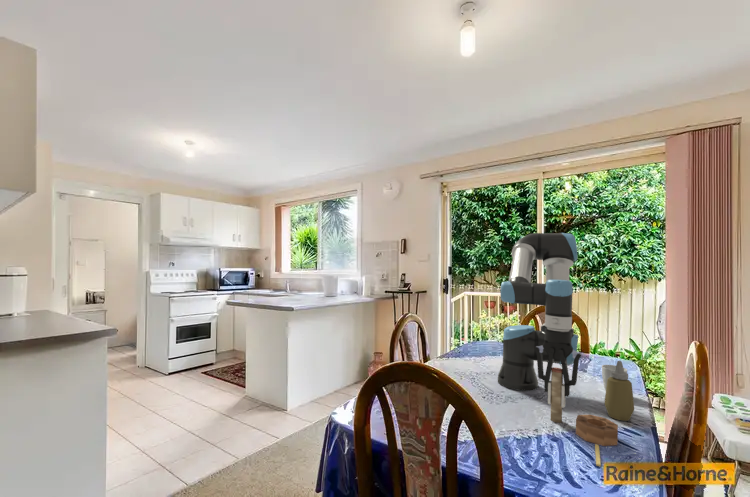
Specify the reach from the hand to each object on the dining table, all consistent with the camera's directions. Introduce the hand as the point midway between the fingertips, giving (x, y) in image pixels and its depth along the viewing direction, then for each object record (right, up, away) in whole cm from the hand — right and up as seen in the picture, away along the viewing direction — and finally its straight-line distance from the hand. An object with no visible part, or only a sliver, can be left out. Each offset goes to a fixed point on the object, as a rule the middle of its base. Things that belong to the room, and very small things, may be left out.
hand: (556, 404), depth 114 cm
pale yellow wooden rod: (+1, -5, -20) cm, 21 cm away
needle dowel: (0, -5, 0) cm, 5 cm away
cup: (+34, -7, +25) cm, 43 cm away
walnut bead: (+7, -5, -10) cm, 13 cm away
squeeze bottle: (+22, -6, +4) cm, 23 cm away
